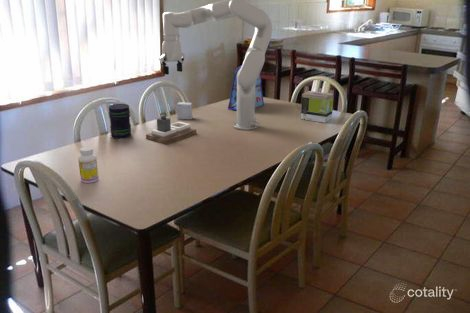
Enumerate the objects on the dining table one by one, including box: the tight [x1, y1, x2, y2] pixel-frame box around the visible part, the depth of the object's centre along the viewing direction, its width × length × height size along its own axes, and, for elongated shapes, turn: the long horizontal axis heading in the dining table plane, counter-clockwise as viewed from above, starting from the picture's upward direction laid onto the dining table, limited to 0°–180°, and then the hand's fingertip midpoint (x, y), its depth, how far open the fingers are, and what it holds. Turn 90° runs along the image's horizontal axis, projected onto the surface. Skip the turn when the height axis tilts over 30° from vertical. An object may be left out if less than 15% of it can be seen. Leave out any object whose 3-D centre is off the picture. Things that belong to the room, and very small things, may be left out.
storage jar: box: [108, 103, 132, 140], centre depth 222 cm, size 10×10×15 cm
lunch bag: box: [227, 65, 265, 111], centre depth 272 cm, size 22×14×29 cm, turn 147°
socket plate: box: [151, 120, 191, 138], centre depth 224 cm, size 10×19×2 cm, turn 143°
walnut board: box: [145, 127, 197, 145], centre depth 224 cm, size 14×21×2 cm, turn 143°
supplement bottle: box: [77, 146, 100, 184], centre depth 172 cm, size 7×7×13 cm
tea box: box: [300, 90, 334, 124], centre depth 251 cm, size 15×10×15 cm, turn 58°
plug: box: [156, 114, 172, 132], centre depth 218 cm, size 5×4×8 cm
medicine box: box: [176, 101, 193, 120], centre depth 252 cm, size 8×4×9 cm, turn 84°
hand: (173, 72), depth 230 cm, fingers open, 9 cm apart
